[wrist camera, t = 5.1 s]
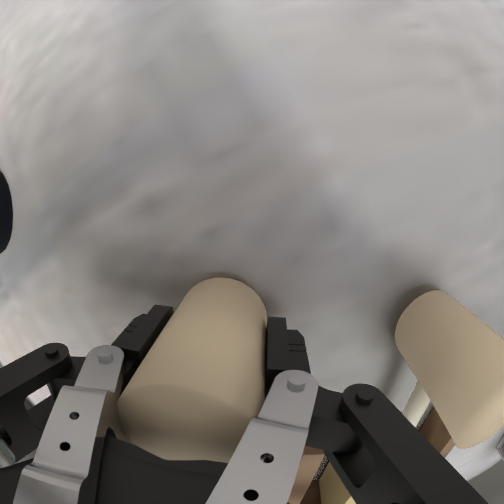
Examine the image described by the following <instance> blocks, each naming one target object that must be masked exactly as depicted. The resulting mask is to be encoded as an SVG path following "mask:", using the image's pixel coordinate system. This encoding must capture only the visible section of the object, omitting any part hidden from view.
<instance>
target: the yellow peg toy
mask: <svg viewBox="0 0 504 504" xmlns="http://www.w3.org/2000/svg"><path fill="white" fill-rule="evenodd" d="M395 343H396V346H397V348H398V350H399V351H400V353H401V354H402V356H403V358H404V359H405V361H406V362H407V364H408V365H409V367H410V368H411V370H412V372H413V373H414V375H415V376H416V378H417V379H418V382H417V384H416V386H415V388H414V391H413V393H412V395H411V397H410V399H409V401H408V403H407V405H406V407H405V409H404V410H403V412H402V414H403V415H404V416H405V417H406V418H407V419H408V420H409V421H410V422H411V424H412V425H413V426H414V427H416V425H417V424H418V422H419V420H420V419H421V417H422V415H423V413H424V412H425V410H426V408H427V406H428V405H429V403H430V401H431V402H432V404H433V406H434V407H435V409H436V411H437V412H438V414H439V416H440V418H441V419H442V421H443V423H444V425H445V426H446V428H447V430H448V432H449V434H450V435H451V437H452V439H453V441H454V443H455V445H456V446H457V447H458V448H460V449H466V448H470V447H473V446H475V445H478V444H479V443H481V442H483V441H485V440H486V439H488V438H489V437H491V436H492V435H493V434H495V433H496V432H497V431H498V430H499V429H501V428H502V427H503V426H504V339H503V338H502V337H501V336H500V335H498V334H497V333H496V332H495V331H494V330H493V329H491V328H490V327H489V326H488V325H487V324H485V323H484V322H483V321H482V320H481V319H479V318H478V317H477V316H476V315H474V314H473V313H472V312H471V311H470V310H468V309H467V308H466V307H465V306H463V305H462V304H461V303H459V302H458V301H457V300H456V299H454V298H453V297H452V296H450V295H449V294H448V293H446V292H444V291H439V290H435V291H429V292H427V293H424V294H422V295H421V296H419V297H417V298H416V299H415V300H414V301H412V302H411V303H410V304H409V305H408V307H407V308H406V309H405V310H404V312H403V313H402V315H401V316H400V318H399V321H398V323H397V326H396V330H395ZM319 488H320V498H321V504H356V503H355V501H354V500H353V498H352V497H351V495H350V494H349V492H348V490H347V489H346V487H345V486H344V484H343V483H342V481H341V479H340V478H339V476H338V475H337V473H336V471H335V470H334V468H333V467H332V465H331V463H330V462H329V463H328V465H327V467H326V469H325V470H324V472H323V474H322V476H321V478H320V480H319Z"/></svg>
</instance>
